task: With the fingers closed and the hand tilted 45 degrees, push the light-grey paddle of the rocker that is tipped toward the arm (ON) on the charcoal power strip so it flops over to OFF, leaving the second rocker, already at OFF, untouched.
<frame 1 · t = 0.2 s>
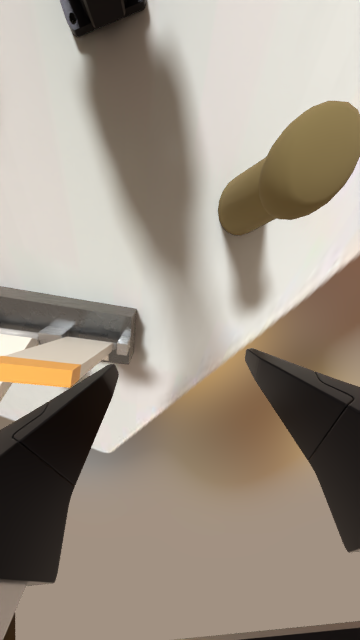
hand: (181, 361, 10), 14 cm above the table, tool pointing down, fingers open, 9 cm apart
rocker 1: (71, 353, 16), point 9 cm above the table, hinge at -22.0°
pepper shaker: (241, 207, 18), on the table
power strip: (104, 328, 24), on the table
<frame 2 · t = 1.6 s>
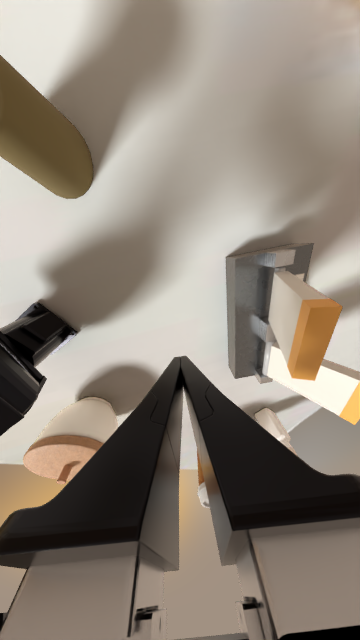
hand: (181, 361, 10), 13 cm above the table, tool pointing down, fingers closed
rocker 1: (288, 313, 14), point 9 cm above the table, hinge at -22.0°
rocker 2: (305, 375, 19), point 8 cm above the table, hinge at 32.0°
pepper shaker: (61, 160, 14), on the table
lidded bowl: (95, 406, 31), on the table
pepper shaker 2: (263, 411, 37), on the table
power strip: (256, 287, 21), on the table
disposable coffee cup: (207, 430, 39), on the table
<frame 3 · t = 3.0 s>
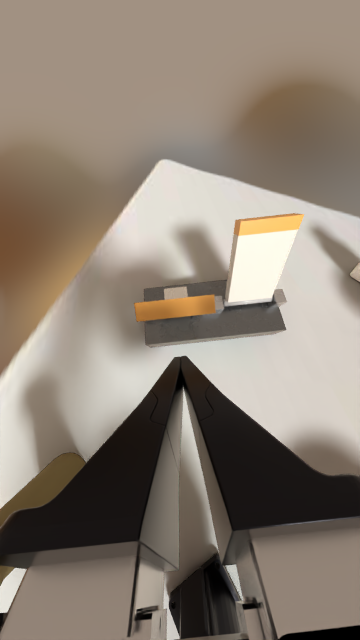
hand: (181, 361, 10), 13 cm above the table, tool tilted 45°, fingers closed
rocker 1: (176, 308, 16), point 9 cm above the table, hinge at -22.0°
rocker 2: (255, 268, 17), point 8 cm above the table, hinge at 32.0°
pepper shaker: (66, 480, 19), on the table
power strip: (178, 317, 25), on the table
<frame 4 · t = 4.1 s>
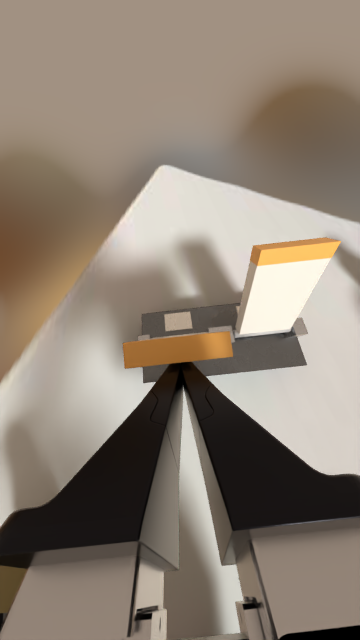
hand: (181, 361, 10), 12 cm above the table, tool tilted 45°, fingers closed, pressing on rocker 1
rocker 1: (179, 342, 13), point 9 cm above the table, hinge at -12.9°, touching gripper
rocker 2: (273, 298, 15), point 8 cm above the table, hinge at 32.0°
pepper shaker: (48, 548, 16), on the table
power strip: (181, 345, 22), on the table
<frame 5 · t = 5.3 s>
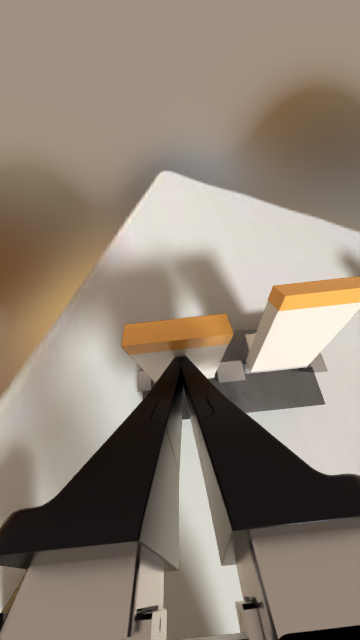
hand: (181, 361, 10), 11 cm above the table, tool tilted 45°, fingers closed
rocker 1: (181, 361, 12), point 9 cm above the table, hinge at 18.6°
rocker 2: (291, 337, 13), point 8 cm above the table, hinge at 32.0°
power strip: (184, 373, 20), on the table
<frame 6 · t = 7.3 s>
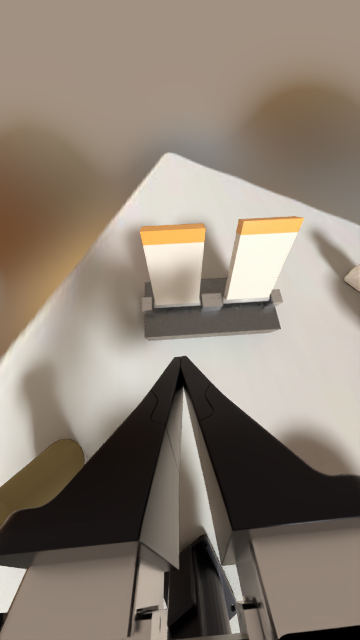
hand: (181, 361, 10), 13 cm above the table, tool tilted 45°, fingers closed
rocker 1: (175, 275, 17), point 8 cm above the table, hinge at 24.5°
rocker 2: (254, 268, 18), point 8 cm above the table, hinge at 32.0°
pepper shaker: (62, 464, 19), on the table
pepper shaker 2: (354, 281, 27), on the table
power strip: (177, 312, 25), on the table
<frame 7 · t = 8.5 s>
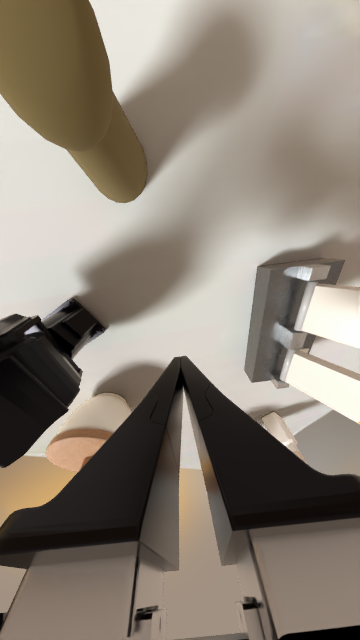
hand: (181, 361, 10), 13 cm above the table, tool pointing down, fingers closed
rocker 1: (359, 318, 15), point 8 cm above the table, hinge at 32.1°
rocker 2: (325, 383, 20), point 8 cm above the table, hinge at 32.0°
pepper shaker: (117, 166, 15), on the table
lidded bowl: (110, 402, 32), on the table
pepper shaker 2: (269, 415, 38), on the table
power strip: (281, 296, 22), on the table
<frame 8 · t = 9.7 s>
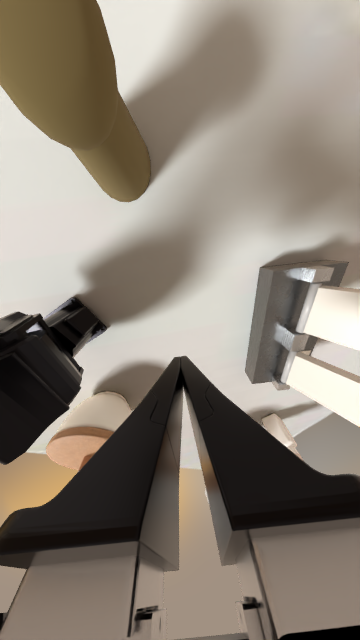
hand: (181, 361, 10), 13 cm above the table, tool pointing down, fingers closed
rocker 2: (327, 385, 19), point 8 cm above the table, hinge at 32.0°
pepper shaker: (121, 165, 15), on the table
lidded bowl: (110, 401, 32), on the table
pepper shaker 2: (269, 417, 38), on the table
power strip: (284, 298, 22), on the table
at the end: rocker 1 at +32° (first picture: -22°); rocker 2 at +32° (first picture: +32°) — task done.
